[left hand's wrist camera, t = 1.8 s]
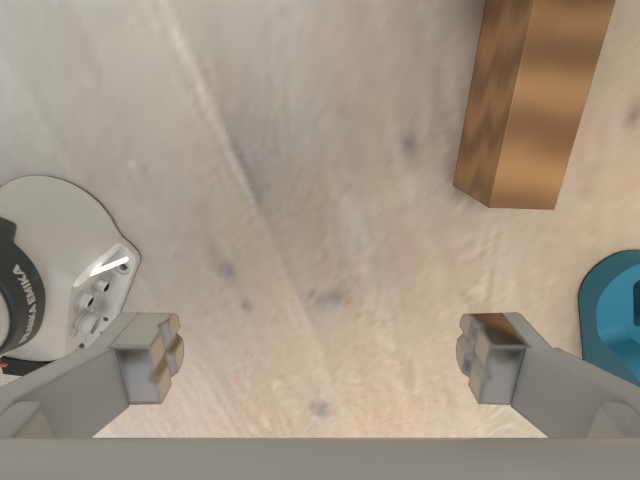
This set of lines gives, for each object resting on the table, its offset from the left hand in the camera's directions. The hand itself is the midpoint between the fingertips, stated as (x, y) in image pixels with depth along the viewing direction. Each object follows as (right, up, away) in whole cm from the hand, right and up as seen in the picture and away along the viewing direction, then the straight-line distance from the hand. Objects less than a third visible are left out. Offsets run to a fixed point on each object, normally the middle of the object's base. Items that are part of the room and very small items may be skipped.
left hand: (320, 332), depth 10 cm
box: (+18, +19, +25) cm, 36 cm away
